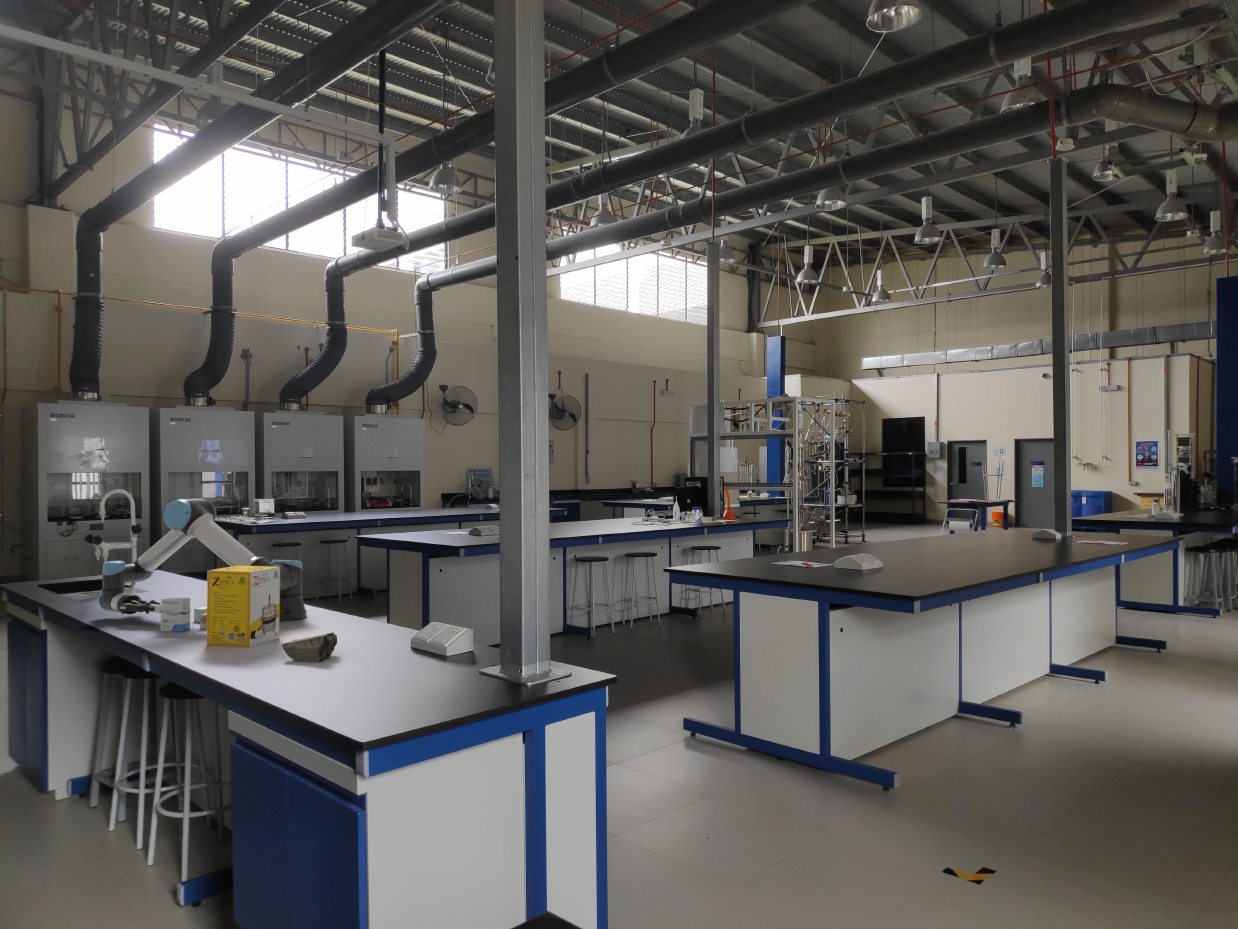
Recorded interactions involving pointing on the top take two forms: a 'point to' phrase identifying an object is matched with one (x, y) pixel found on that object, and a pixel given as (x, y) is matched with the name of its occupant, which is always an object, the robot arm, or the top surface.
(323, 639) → the concrete fragment
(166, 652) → the top surface
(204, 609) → the sage cube
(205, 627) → the birch cube
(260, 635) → the packaging box
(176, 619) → the ink box
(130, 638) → the top surface
